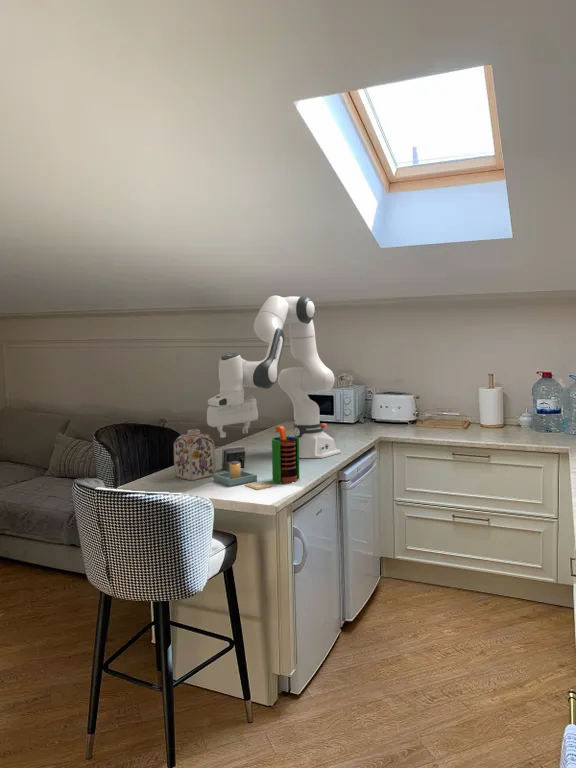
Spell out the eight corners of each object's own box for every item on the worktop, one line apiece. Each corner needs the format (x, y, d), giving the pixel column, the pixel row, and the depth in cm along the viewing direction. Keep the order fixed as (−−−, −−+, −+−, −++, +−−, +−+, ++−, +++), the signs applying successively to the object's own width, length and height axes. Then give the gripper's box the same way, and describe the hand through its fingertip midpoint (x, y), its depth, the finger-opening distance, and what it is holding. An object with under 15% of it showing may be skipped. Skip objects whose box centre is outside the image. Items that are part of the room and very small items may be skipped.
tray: (240, 476, 228) (239, 469, 228) (257, 481, 219) (256, 474, 219) (213, 481, 221) (213, 474, 221) (230, 487, 212) (229, 480, 212)
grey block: (235, 473, 233) (235, 460, 233) (241, 475, 230) (240, 462, 230) (226, 475, 231) (226, 462, 230) (232, 476, 228) (231, 464, 227)
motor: (287, 485, 212) (285, 429, 211) (267, 482, 217) (265, 428, 216) (302, 479, 221) (301, 425, 219) (283, 476, 226) (281, 424, 224)
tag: (258, 482, 217) (258, 481, 217) (271, 487, 210) (271, 485, 210) (244, 485, 213) (244, 484, 213) (257, 490, 207) (257, 488, 207)
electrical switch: (243, 466, 245) (242, 444, 244) (247, 470, 241) (247, 447, 239) (221, 469, 242) (220, 446, 240) (225, 472, 237) (224, 450, 235)
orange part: (237, 477, 223) (236, 460, 222) (243, 479, 220) (242, 462, 219) (228, 479, 221) (227, 462, 220) (233, 481, 217) (233, 463, 217)
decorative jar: (216, 475, 230) (214, 429, 228) (191, 481, 222) (189, 433, 221) (198, 471, 239) (197, 426, 237) (173, 476, 231) (171, 430, 229)
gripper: (251, 394, 226) (253, 430, 228) (203, 400, 214) (205, 438, 216) (260, 395, 221) (262, 432, 223) (212, 402, 209) (214, 441, 211)
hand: (234, 435), depth 219 cm, fingers open, 8 cm apart
